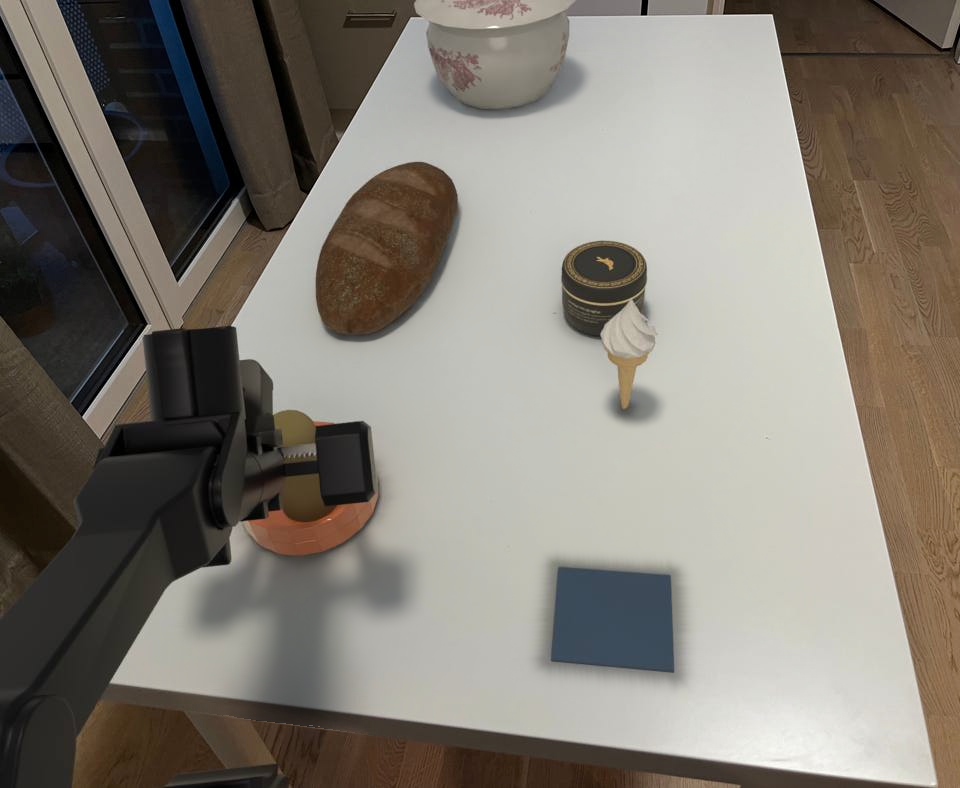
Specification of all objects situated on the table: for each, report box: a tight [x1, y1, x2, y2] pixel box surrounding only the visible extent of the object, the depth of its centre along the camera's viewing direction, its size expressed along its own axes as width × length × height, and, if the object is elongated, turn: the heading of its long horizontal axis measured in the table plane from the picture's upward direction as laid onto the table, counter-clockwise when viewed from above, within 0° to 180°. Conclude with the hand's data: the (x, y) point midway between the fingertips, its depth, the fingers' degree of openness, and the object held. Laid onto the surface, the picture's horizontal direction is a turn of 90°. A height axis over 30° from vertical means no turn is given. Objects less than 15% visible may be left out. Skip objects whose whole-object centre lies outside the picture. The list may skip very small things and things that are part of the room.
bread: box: [315, 161, 459, 336], centre depth 107 cm, size 16×36×8 cm, turn 168°
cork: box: [273, 409, 337, 522], centre depth 76 cm, size 6×6×11 cm
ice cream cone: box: [600, 299, 659, 410], centre depth 81 cm, size 6×6×15 cm
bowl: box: [242, 420, 379, 557], centre depth 79 cm, size 14×14×4 cm
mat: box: [550, 566, 675, 673], centre depth 68 cm, size 10×9×1 cm
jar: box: [560, 240, 648, 337], centre depth 95 cm, size 10×10×8 cm
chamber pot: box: [413, 0, 577, 110], centre depth 137 cm, size 28×28×21 cm
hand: (279, 463), depth 70 cm, fingers open, 9 cm apart
